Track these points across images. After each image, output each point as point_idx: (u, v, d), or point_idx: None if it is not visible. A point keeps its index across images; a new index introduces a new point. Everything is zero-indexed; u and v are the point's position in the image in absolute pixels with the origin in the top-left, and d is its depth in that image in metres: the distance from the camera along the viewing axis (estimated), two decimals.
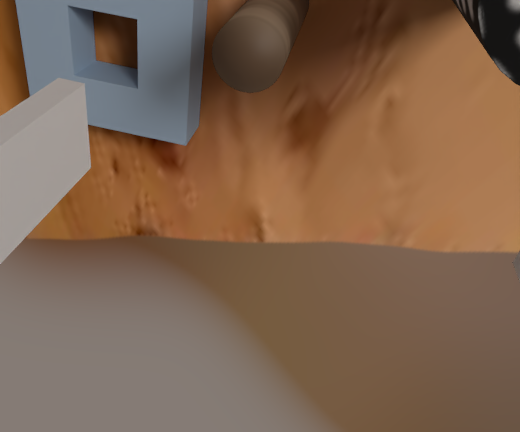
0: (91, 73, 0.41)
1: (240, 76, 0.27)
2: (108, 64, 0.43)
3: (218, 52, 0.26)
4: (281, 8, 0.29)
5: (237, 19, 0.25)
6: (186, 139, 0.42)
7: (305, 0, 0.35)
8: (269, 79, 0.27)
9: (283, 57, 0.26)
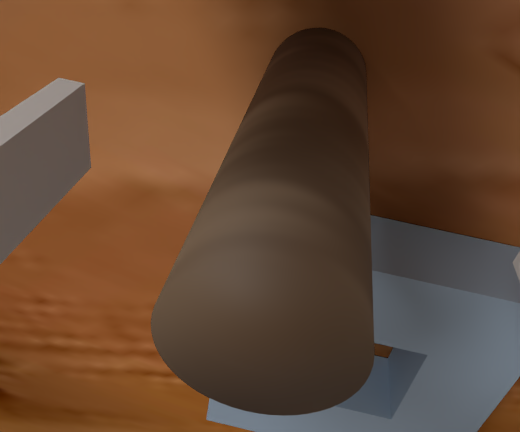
0: (395, 390, 0.26)
1: (319, 372, 0.09)
2: (395, 348, 0.28)
3: (251, 401, 0.10)
4: (223, 164, 0.12)
5: (161, 350, 0.09)
6: None
7: (298, 46, 0.17)
8: (331, 309, 0.08)
9: (255, 264, 0.08)
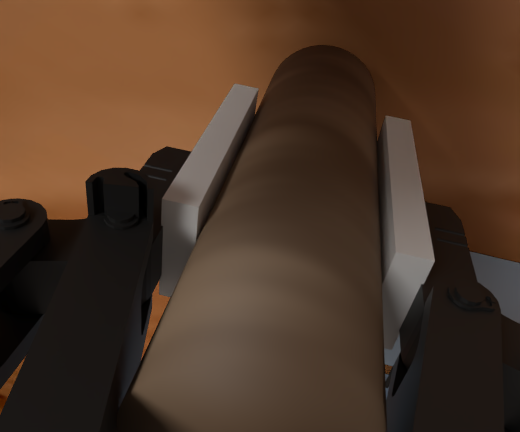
0: None
1: None
2: None
3: None
4: (212, 213, 0.10)
5: None
6: None
7: (301, 67, 0.15)
8: (335, 424, 0.06)
9: (240, 371, 0.06)
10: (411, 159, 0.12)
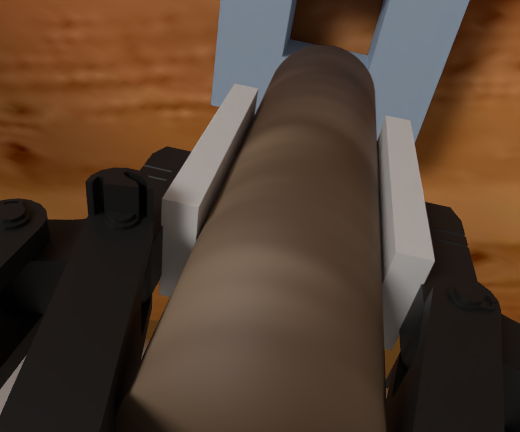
0: (372, 53, 0.31)
1: None
2: (373, 37, 0.32)
3: None
4: (212, 213, 0.10)
5: None
6: None
7: (300, 67, 0.15)
8: (335, 426, 0.06)
9: (240, 372, 0.06)
10: (411, 159, 0.12)
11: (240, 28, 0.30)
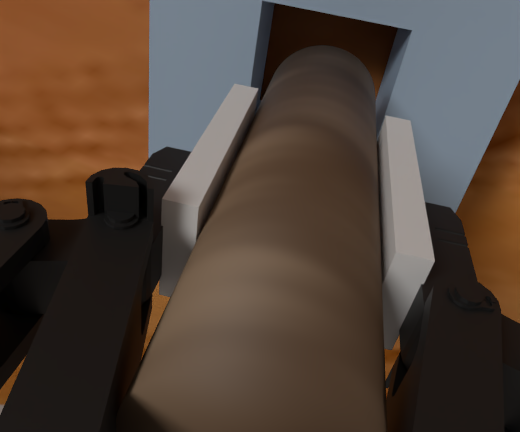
0: None
1: None
2: (376, 100, 0.23)
3: None
4: (212, 213, 0.10)
5: None
6: None
7: (300, 67, 0.15)
8: (335, 426, 0.06)
9: (240, 373, 0.06)
10: (411, 159, 0.12)
11: (180, 96, 0.20)
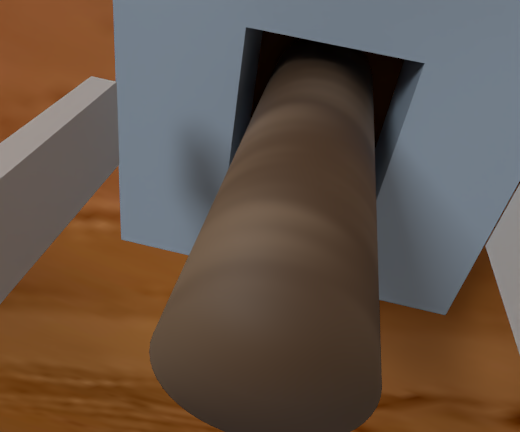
0: (380, 172, 0.18)
1: (324, 402, 0.08)
2: (381, 134, 0.20)
3: (253, 429, 0.09)
4: (226, 180, 0.11)
5: (161, 376, 0.09)
6: None
7: (303, 53, 0.17)
8: (337, 341, 0.07)
9: (258, 295, 0.07)
10: None
11: (154, 134, 0.18)
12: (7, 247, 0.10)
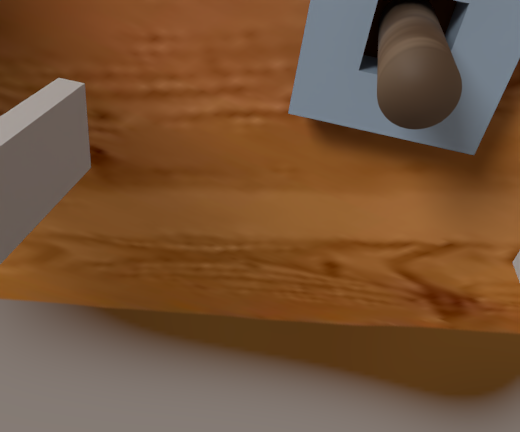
0: None
1: (439, 102, 0.24)
2: None
3: (409, 122, 0.25)
4: (388, 41, 0.27)
5: (377, 98, 0.25)
6: None
7: (404, 1, 0.32)
8: (448, 69, 0.23)
9: (425, 51, 0.23)
10: None
11: (322, 45, 0.33)
12: None
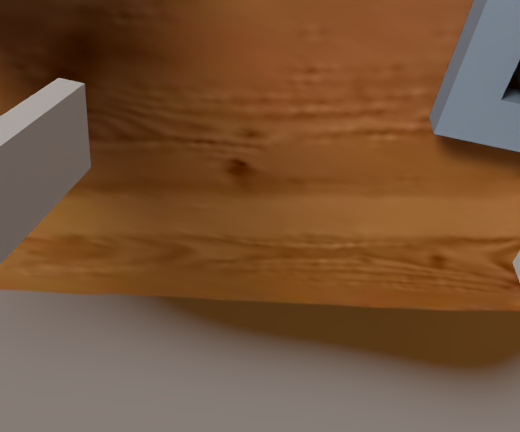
0: None
1: None
2: None
3: None
4: None
5: None
6: None
7: None
8: None
9: None
10: None
11: (472, 80, 0.41)
12: None
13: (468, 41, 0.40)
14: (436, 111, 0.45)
